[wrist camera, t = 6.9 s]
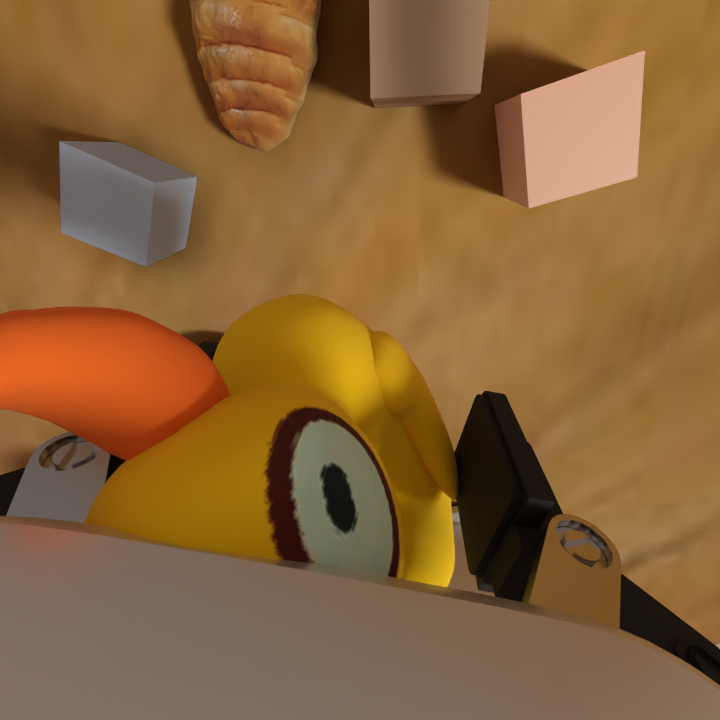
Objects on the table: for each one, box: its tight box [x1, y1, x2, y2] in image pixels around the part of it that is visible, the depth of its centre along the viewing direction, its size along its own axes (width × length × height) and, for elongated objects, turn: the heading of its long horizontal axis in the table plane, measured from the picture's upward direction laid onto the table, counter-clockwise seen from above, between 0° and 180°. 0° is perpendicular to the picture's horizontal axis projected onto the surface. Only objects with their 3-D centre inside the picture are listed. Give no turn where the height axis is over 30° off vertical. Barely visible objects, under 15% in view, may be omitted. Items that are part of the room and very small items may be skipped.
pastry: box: [189, 0, 321, 151], centre depth 19 cm, size 9×7×4 cm
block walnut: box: [369, 0, 491, 108], centre depth 18 cm, size 5×5×5 cm
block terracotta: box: [494, 51, 645, 208], centre depth 19 cm, size 5×5×5 cm
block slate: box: [59, 141, 197, 267], centre depth 23 cm, size 5×5×5 cm
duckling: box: [0, 294, 458, 587], centre depth 9 cm, size 11×5×10 cm, turn 33°
